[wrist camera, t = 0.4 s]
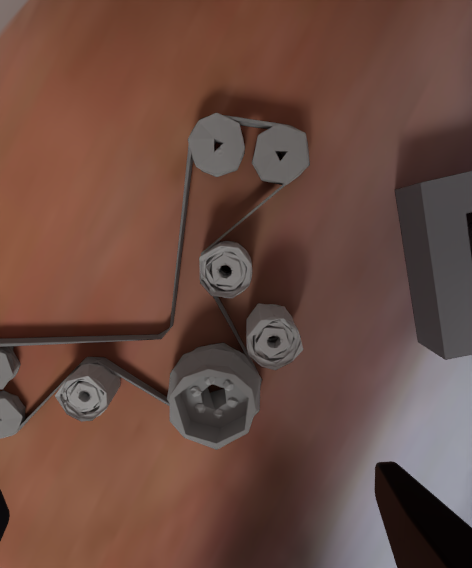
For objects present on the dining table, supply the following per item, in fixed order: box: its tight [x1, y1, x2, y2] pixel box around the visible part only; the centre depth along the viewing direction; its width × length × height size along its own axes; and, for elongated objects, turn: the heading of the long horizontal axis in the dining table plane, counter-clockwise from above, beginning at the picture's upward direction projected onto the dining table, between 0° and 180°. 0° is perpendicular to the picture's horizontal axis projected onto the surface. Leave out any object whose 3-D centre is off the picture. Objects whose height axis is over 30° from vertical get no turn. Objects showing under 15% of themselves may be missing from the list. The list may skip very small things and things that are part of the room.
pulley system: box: [0, 113, 310, 450], centre depth 21 cm, size 27×5×15 cm
